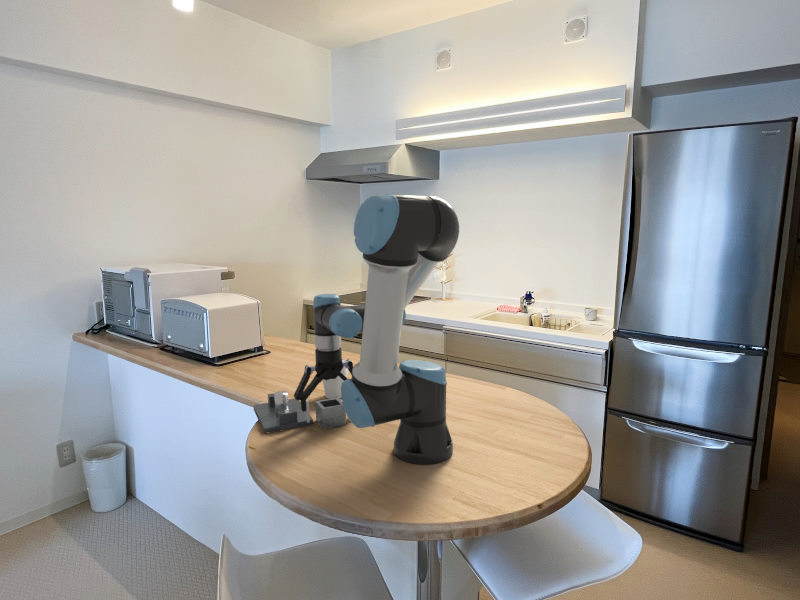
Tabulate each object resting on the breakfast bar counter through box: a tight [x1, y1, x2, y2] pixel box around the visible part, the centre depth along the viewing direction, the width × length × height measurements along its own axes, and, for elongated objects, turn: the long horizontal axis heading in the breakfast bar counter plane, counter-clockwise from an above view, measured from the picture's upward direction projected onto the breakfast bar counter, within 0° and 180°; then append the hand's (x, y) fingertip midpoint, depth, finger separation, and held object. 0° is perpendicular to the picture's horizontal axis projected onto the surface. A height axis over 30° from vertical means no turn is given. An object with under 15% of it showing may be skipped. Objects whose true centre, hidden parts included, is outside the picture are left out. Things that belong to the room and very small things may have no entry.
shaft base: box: [253, 390, 314, 434], centre depth 147 cm, size 20×14×8 cm
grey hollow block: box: [315, 398, 347, 430], centre depth 142 cm, size 7×7×6 cm
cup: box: [322, 358, 349, 400], centre depth 164 cm, size 9×9×12 cm
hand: (330, 417), depth 143 cm, fingers open, 13 cm apart
